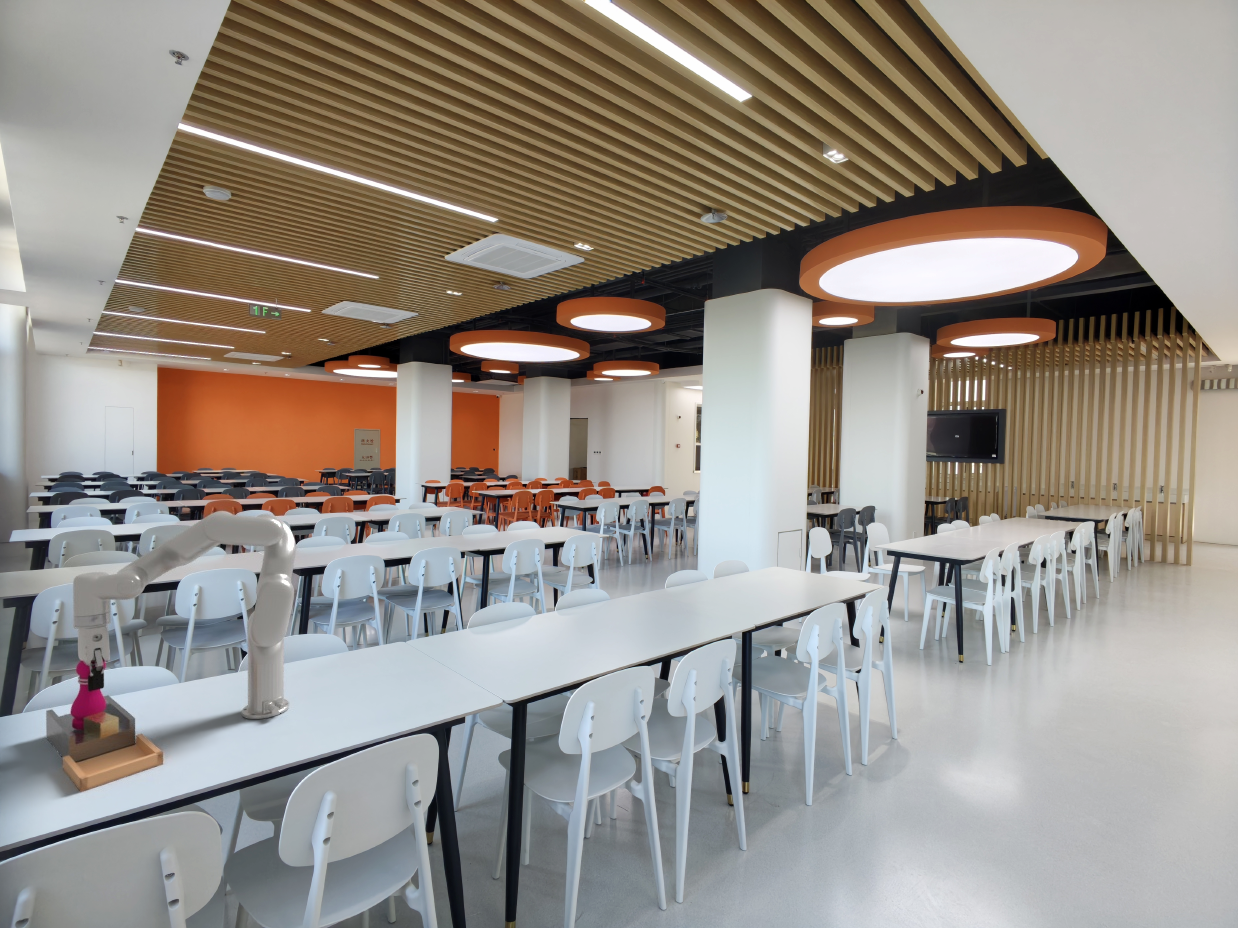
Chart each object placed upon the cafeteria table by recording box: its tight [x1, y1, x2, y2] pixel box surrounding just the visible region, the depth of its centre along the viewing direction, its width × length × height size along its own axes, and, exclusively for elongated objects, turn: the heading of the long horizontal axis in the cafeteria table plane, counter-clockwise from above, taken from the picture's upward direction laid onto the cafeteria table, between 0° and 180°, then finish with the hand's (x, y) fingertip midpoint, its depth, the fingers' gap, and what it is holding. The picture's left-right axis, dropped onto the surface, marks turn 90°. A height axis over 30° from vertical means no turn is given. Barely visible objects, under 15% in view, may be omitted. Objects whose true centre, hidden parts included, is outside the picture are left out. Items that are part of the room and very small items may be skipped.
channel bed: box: [45, 695, 136, 763], centre depth 165 cm, size 24×13×8 cm, turn 53°
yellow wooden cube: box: [92, 715, 119, 739], centre depth 159 cm, size 4×4×4 cm
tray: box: [62, 733, 164, 793], centre depth 153 cm, size 16×16×3 cm
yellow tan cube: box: [84, 712, 110, 735], centre depth 161 cm, size 4×4×4 cm
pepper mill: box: [69, 660, 107, 730], centre depth 163 cm, size 7×7×20 cm
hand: (92, 685), depth 163 cm, fingers closed on pepper mill, 5 cm apart
